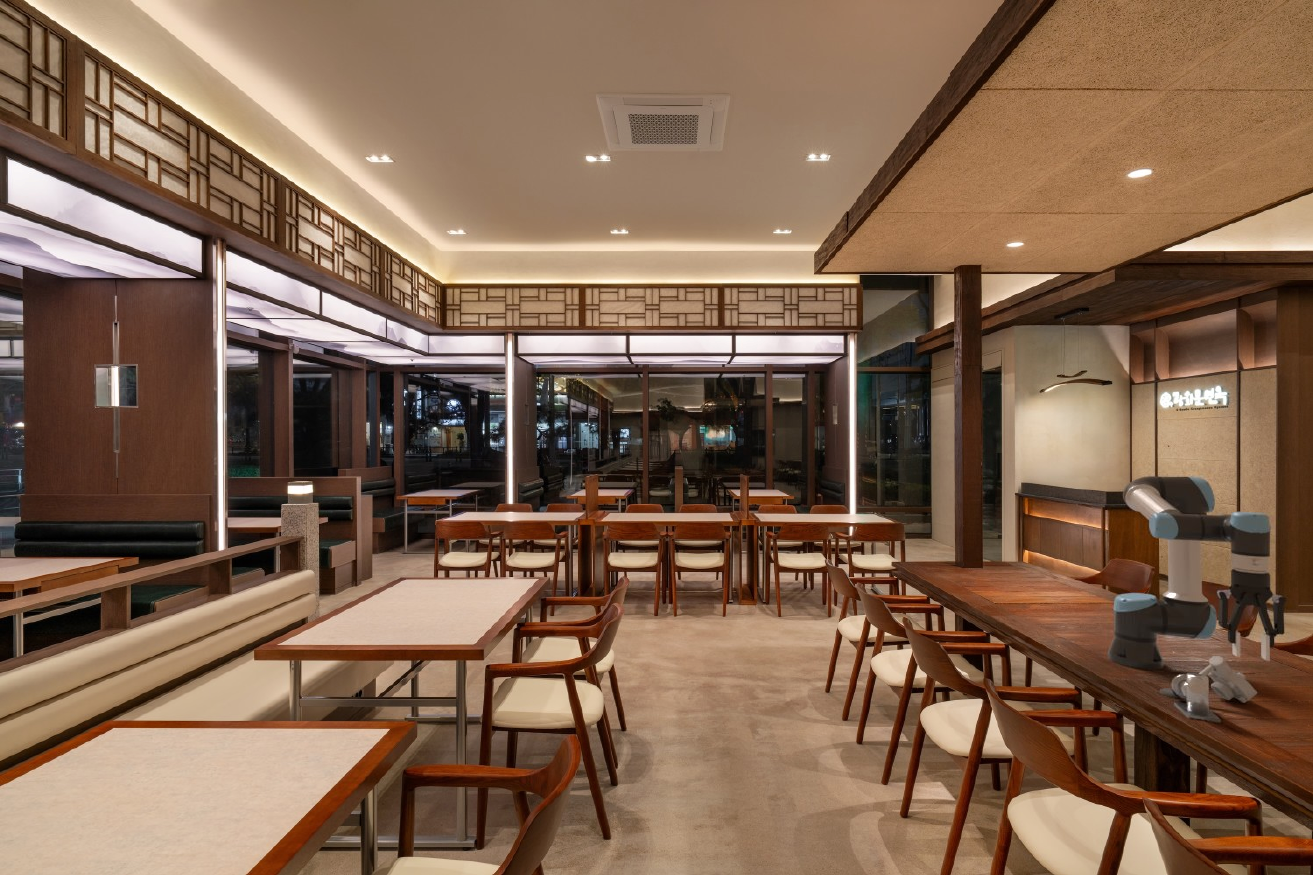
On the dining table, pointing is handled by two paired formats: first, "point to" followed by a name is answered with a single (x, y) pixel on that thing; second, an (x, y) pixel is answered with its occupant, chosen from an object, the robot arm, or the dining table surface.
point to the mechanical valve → (1227, 681)
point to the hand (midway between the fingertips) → (1250, 657)
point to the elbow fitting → (1194, 696)
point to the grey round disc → (1168, 693)
